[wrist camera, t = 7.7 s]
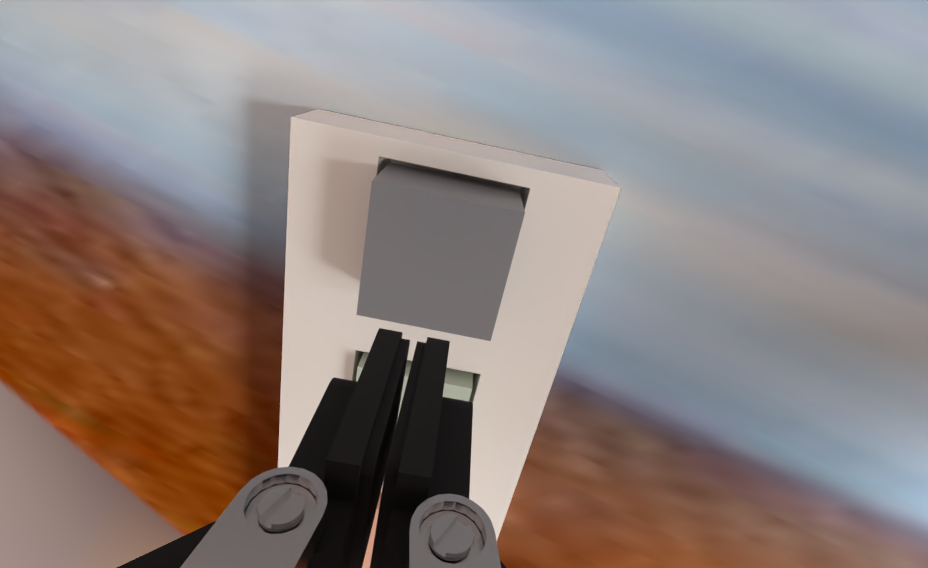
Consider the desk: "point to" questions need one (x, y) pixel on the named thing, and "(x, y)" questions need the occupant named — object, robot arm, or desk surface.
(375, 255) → the charcoal button
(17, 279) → the desk surface
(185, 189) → the desk surface
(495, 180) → the panel
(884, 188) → the desk surface
